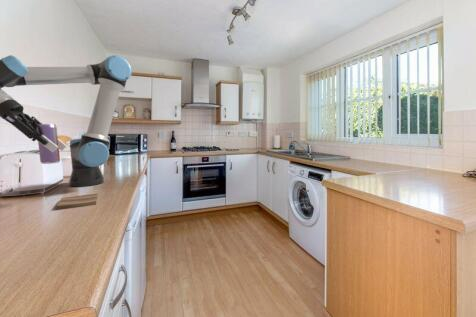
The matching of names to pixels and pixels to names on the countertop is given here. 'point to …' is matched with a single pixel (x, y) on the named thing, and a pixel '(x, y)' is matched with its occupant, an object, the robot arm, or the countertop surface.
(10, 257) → the countertop surface
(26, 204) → the countertop surface
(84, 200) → the walnut trivet
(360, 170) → the countertop surface
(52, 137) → the beverage can
